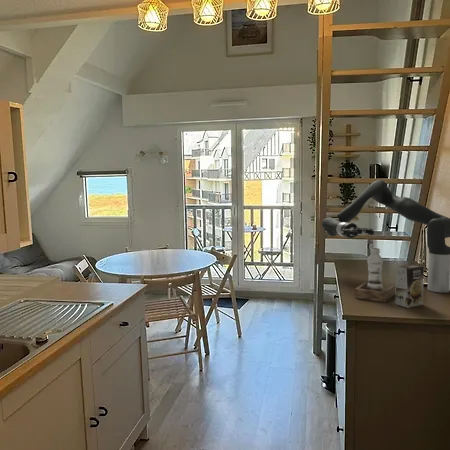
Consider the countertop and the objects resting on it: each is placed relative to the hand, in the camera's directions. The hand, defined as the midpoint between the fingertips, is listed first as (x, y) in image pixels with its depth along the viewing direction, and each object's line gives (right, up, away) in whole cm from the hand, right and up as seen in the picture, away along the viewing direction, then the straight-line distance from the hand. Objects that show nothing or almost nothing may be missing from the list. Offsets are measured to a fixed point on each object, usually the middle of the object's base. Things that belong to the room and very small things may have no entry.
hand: (365, 233), depth 204 cm
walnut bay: (0, -28, -12) cm, 30 cm away
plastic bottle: (0, -27, -12) cm, 29 cm away
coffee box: (+10, -29, -26) cm, 40 cm away
